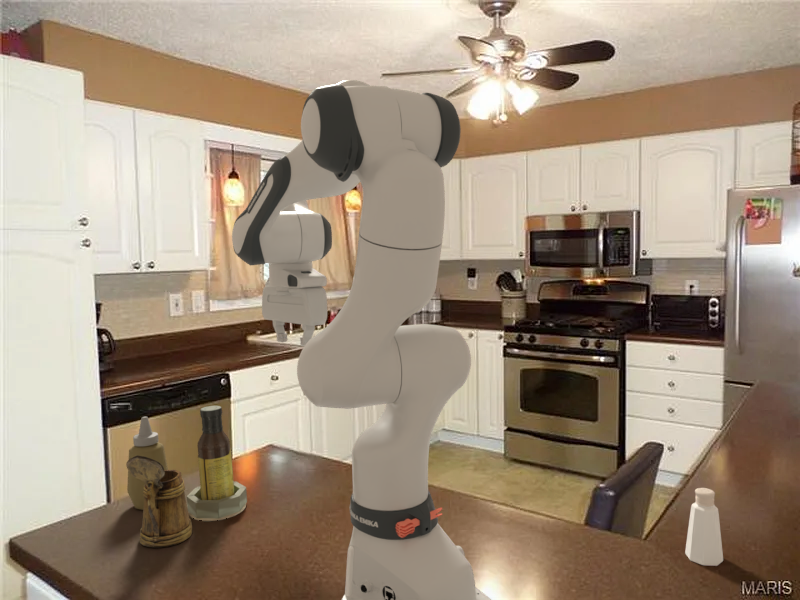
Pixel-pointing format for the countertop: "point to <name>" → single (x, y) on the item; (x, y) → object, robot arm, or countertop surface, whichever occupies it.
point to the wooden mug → (161, 504)
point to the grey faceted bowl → (216, 505)
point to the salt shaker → (704, 530)
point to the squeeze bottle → (146, 447)
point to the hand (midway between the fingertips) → (293, 343)
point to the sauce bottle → (214, 457)
